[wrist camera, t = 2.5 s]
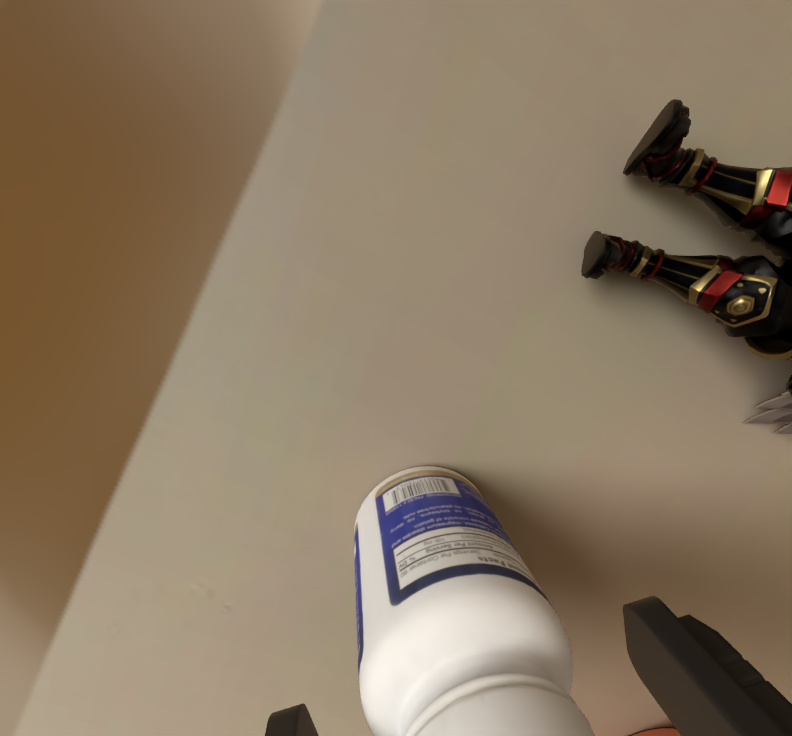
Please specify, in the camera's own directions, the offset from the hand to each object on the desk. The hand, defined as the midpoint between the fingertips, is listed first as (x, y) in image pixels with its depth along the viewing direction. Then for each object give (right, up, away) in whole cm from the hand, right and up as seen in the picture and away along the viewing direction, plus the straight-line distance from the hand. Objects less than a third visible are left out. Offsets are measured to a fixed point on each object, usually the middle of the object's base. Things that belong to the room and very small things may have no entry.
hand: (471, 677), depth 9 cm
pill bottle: (-1, +1, +6) cm, 6 cm away
